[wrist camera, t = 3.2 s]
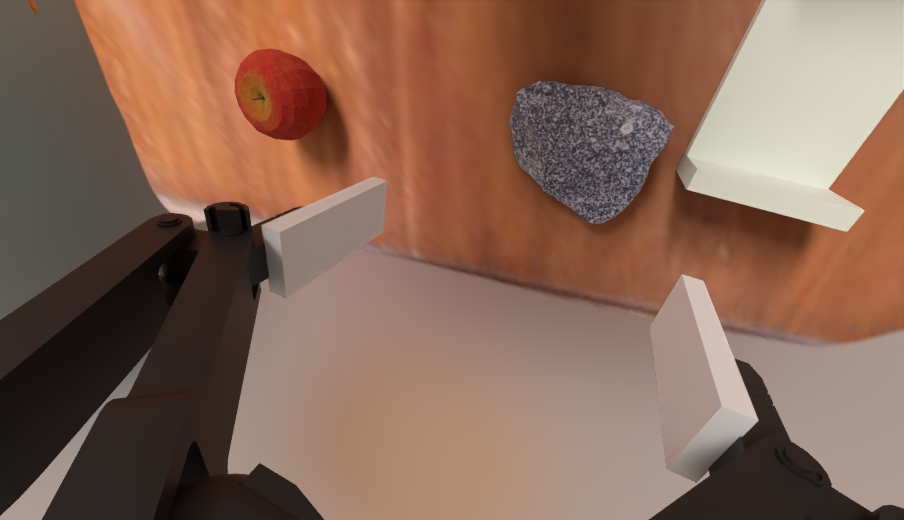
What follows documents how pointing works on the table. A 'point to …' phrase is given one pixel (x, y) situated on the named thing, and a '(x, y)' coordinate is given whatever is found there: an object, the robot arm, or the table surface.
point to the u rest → (798, 106)
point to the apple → (280, 94)
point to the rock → (586, 145)
